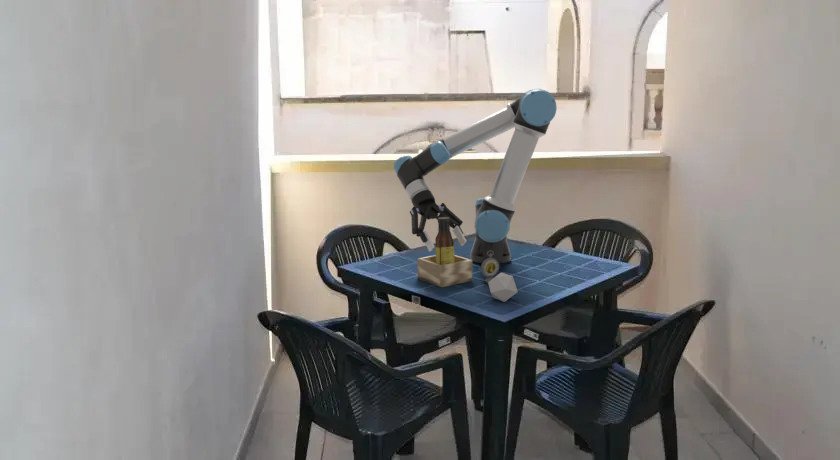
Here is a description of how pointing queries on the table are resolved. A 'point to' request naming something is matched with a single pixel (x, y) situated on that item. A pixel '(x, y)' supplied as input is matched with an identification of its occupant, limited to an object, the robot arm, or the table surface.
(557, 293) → the table surface
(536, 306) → the table surface
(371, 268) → the table surface
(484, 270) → the pocket watch
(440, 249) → the sauce bottle
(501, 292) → the die
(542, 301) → the table surface
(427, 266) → the crate
